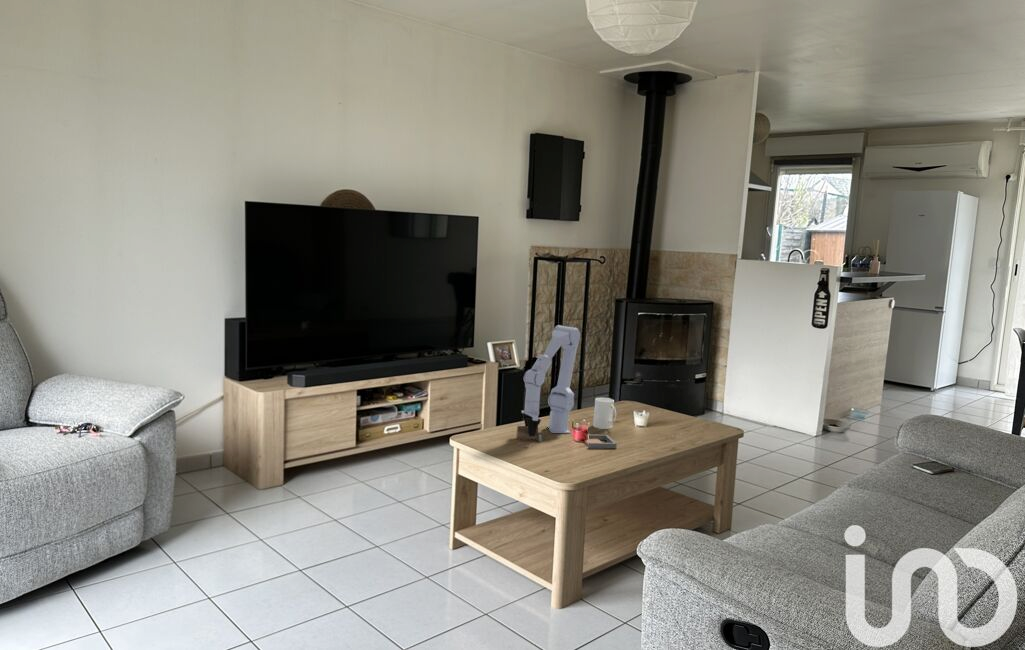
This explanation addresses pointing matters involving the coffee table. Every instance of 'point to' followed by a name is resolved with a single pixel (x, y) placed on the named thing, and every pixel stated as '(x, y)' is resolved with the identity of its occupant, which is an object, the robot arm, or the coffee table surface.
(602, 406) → the mug
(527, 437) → the plank on grey base
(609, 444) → the frame
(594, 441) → the tile
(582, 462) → the coffee table surface
